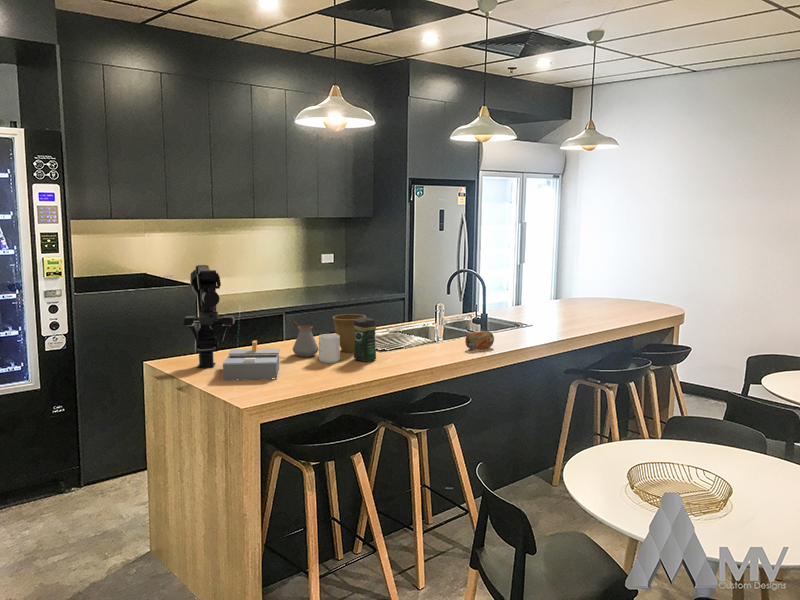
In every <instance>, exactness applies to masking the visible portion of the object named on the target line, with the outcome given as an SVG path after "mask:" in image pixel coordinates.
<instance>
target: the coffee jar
mask: <svg viewBox="0 0 800 600" xmlns="http://www.w3.org/2000/svg"><path fill="white" fill-rule="evenodd" d="M354 329H355V348H354V352H353V358H354V360H357V361H360V362H374V361H375V360H376V359H377V350H376V349H377V348H376V347H377V346H376V331H377V321H376V320H375V319H374V318H370V317H366V316H365V317H359V318H356V319H355V321H354Z"/></svg>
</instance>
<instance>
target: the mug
mask: <svg viewBox="0 0 800 600" xmlns="http://www.w3.org/2000/svg"><path fill="white" fill-rule="evenodd" d="M318 348H319V350H318V359H319V361H320V363H323V364H334V363H337V362H339V361H340V359H341V356H340V355H341V352H340V351H341V347H340V336H339V335H337V334H336V333H323V334H319V335H318Z"/></svg>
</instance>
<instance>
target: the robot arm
mask: <svg viewBox="0 0 800 600" xmlns="http://www.w3.org/2000/svg"><path fill="white" fill-rule="evenodd" d="M189 277H190V278H189V283H190V287H191V288H192V292H193V294H194V295H195V296H196V301H197V303H196V304H197V311H198V313H197V314H198V315H197V316H198V317H197V316H196V315H186V316H185V317H184V318H183V319H182V325H183V326H186V328H189V329H190V330H191V332H192V334H193V337H194V352H195V354H198V365H197V366H196V368H198V369H199V368H200V369H201V368H202V369H203V368H214V367H215V366H216V363H217V362H214V353H215V352H218V351H219V343H220V342H221V343H223V342H224V338H225V335H226V331H227V330H228V328H230V327H231V326H233V325H234V324H235V322H236V321H235V316H234V315H224V316H222V317H219V312H218V311H217V305H218V304H219V302H220V296H219V294H218V293H217V290H219V289H220V288H221V285H222V283H221V278H220V277H221V276H220V275H219V272H217V270H216V269H210V267H209V265H206V264H203V265H202V264H200V265H199V264H198V265H195V269H194V270H192V272H190V276H189ZM213 323H214V324H215V323H216V324H217V323H221V324H222V325H221V336H220V342H219V339H218V337H217V336H216V333H215V329H214V328H212V327H211V325H213ZM198 324H199V326H198ZM198 327H199V330H198Z"/></svg>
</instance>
